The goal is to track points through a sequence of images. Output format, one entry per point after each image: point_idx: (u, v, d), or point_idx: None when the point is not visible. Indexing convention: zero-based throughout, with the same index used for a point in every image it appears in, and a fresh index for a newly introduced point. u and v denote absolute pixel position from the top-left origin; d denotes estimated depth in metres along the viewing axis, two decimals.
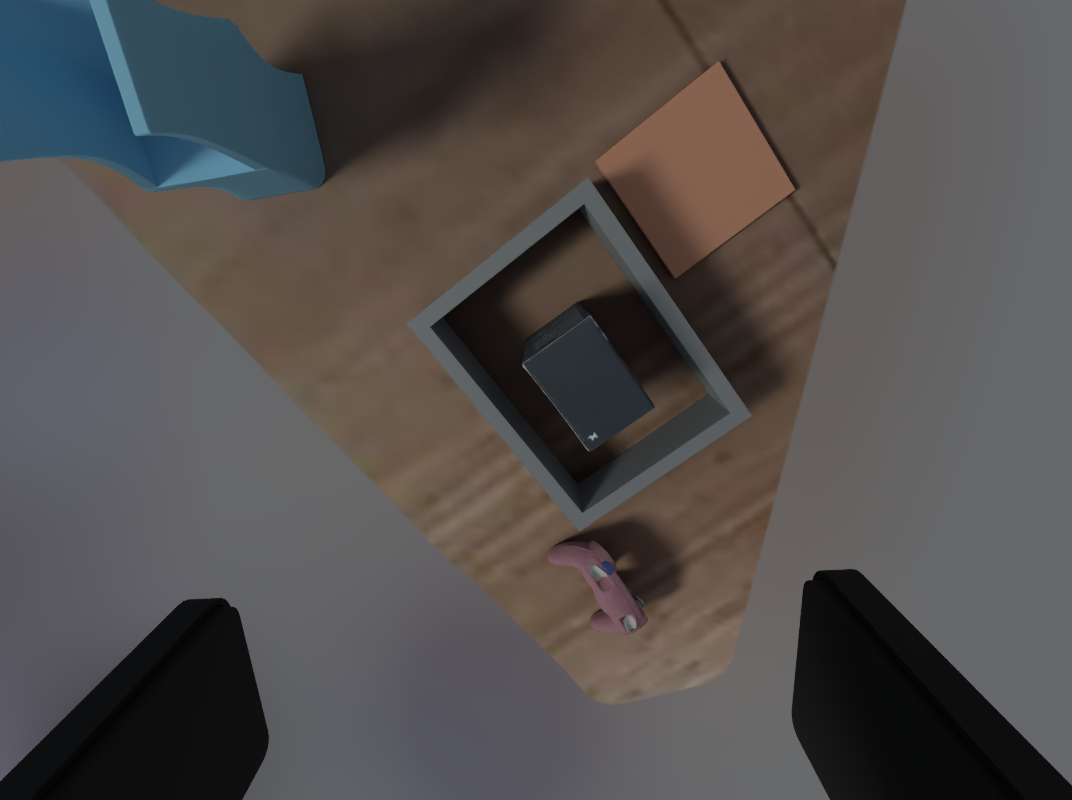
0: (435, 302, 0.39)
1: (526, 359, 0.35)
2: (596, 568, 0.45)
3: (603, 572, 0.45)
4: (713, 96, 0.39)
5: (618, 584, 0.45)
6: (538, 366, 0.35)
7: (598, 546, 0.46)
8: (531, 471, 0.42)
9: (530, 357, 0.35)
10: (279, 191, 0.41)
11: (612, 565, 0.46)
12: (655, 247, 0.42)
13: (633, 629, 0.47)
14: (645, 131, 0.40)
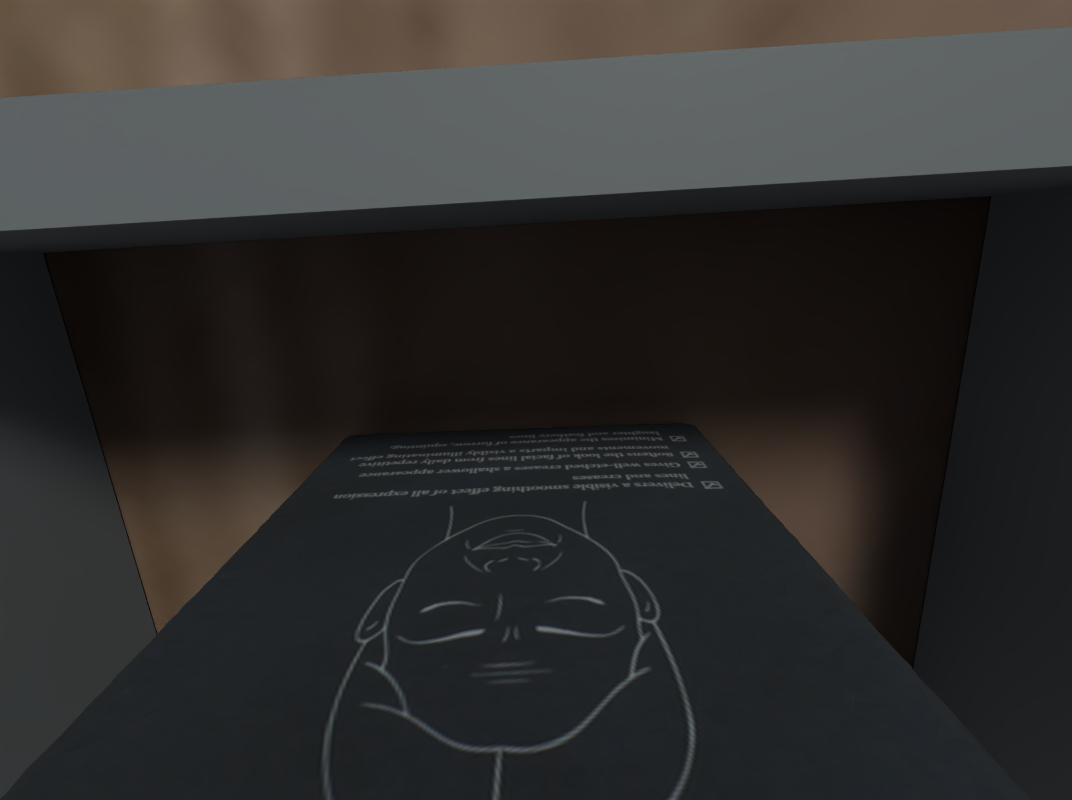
0: None
1: None
2: None
3: None
4: None
5: None
6: None
7: None
8: (43, 111, 0.05)
9: None
10: None
11: None
12: None
13: None
14: None
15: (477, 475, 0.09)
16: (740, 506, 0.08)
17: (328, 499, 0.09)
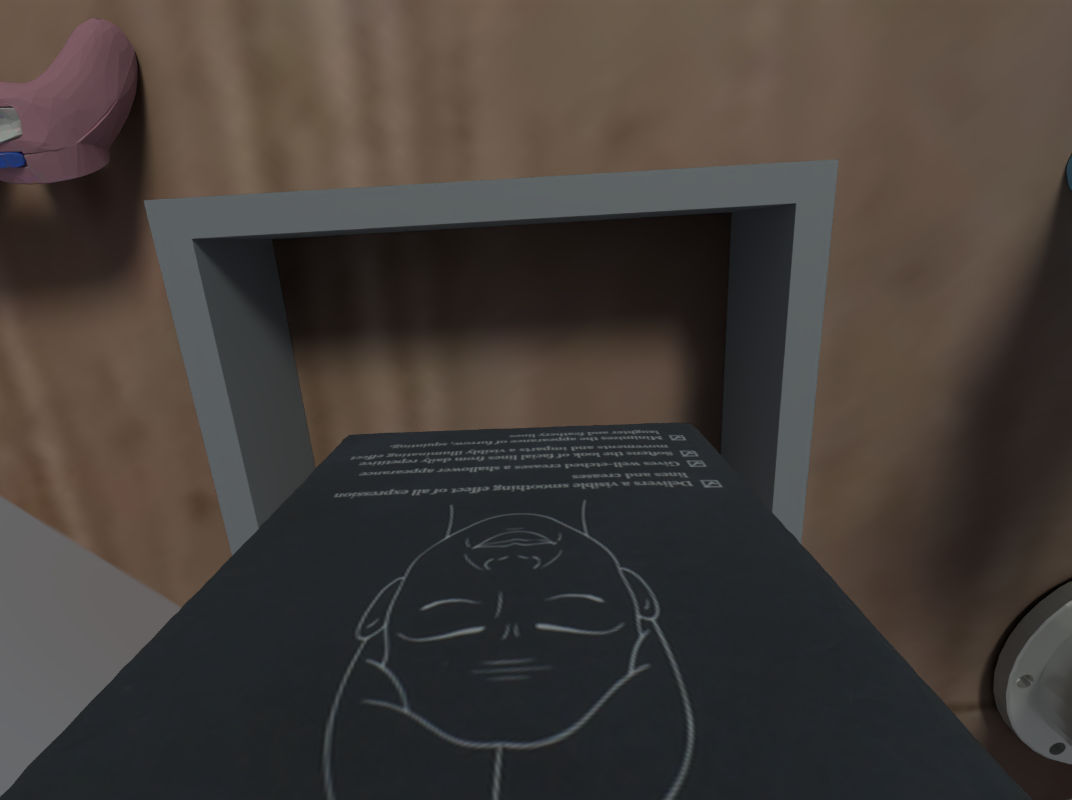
0: (826, 249, 0.17)
1: None
2: (9, 131, 0.16)
3: None
4: None
5: None
6: None
7: (81, 170, 0.18)
8: (358, 192, 0.16)
9: None
10: None
11: (6, 174, 0.17)
12: None
13: None
14: None
15: (476, 474, 0.09)
16: (740, 504, 0.08)
17: (328, 498, 0.09)
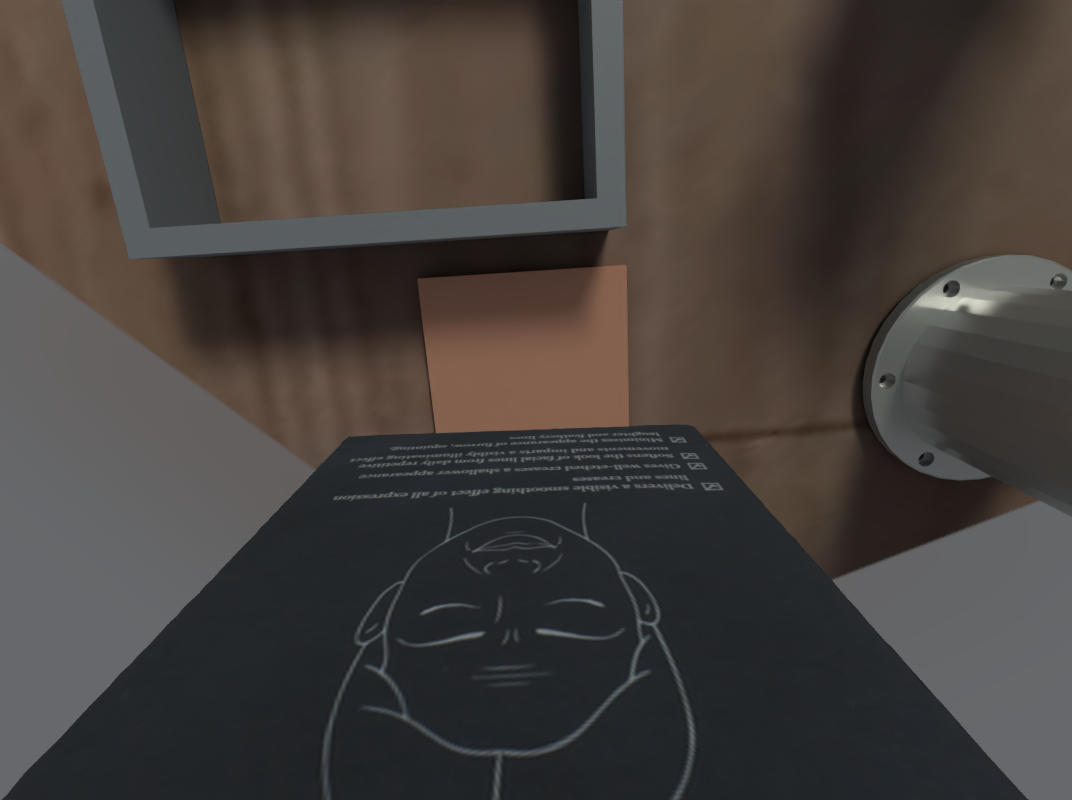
0: None
1: None
2: None
3: None
4: None
5: None
6: None
7: None
8: None
9: None
10: None
11: None
12: (473, 276, 0.28)
13: None
14: (616, 344, 0.29)
15: (476, 476, 0.09)
16: (741, 507, 0.08)
17: (328, 501, 0.09)
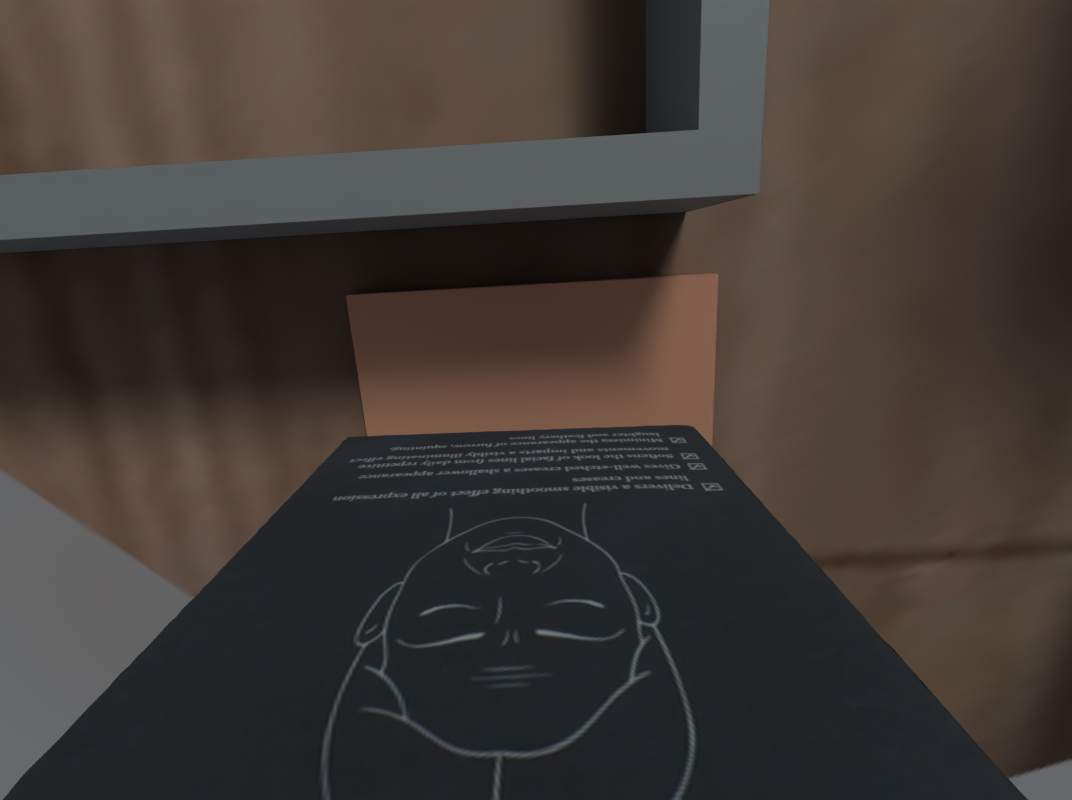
0: None
1: None
2: None
3: None
4: None
5: None
6: None
7: None
8: None
9: None
10: None
11: None
12: (445, 292, 0.16)
13: None
14: (693, 411, 0.17)
15: (476, 476, 0.09)
16: (740, 507, 0.08)
17: (328, 501, 0.09)
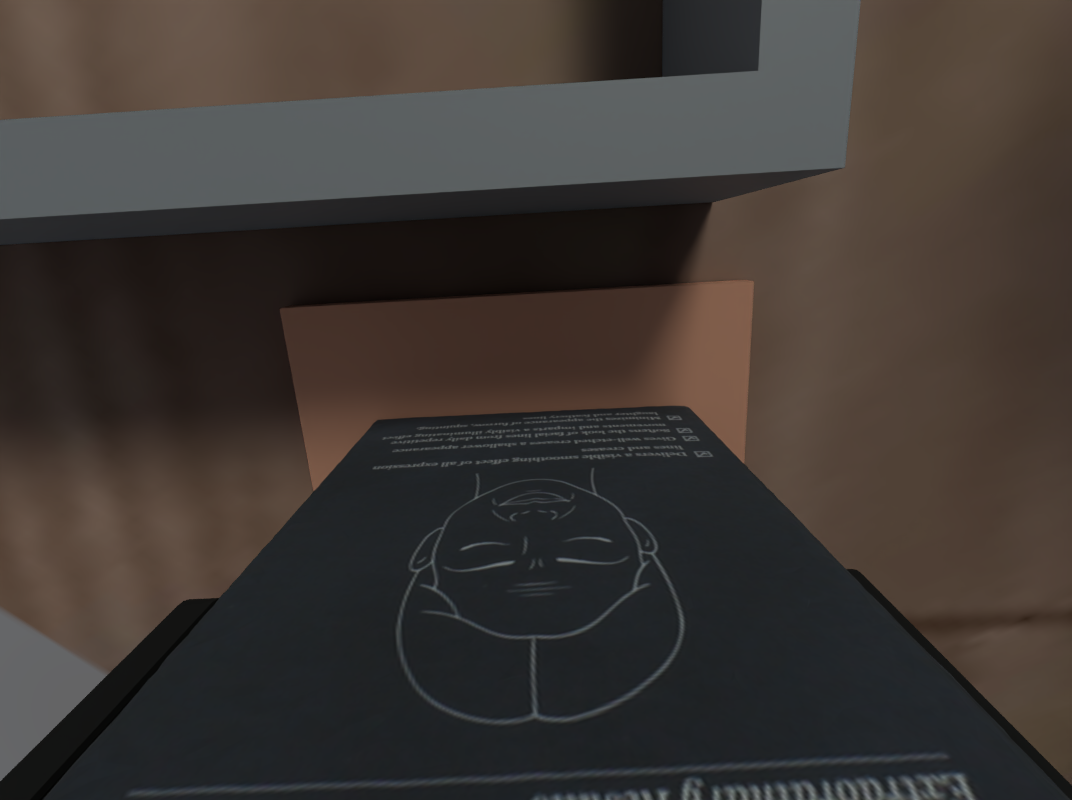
0: None
1: None
2: None
3: None
4: None
5: None
6: None
7: None
8: None
9: None
10: None
11: None
12: (406, 304, 0.12)
13: None
14: None
15: (496, 449, 0.10)
16: (727, 469, 0.09)
17: (368, 469, 0.10)
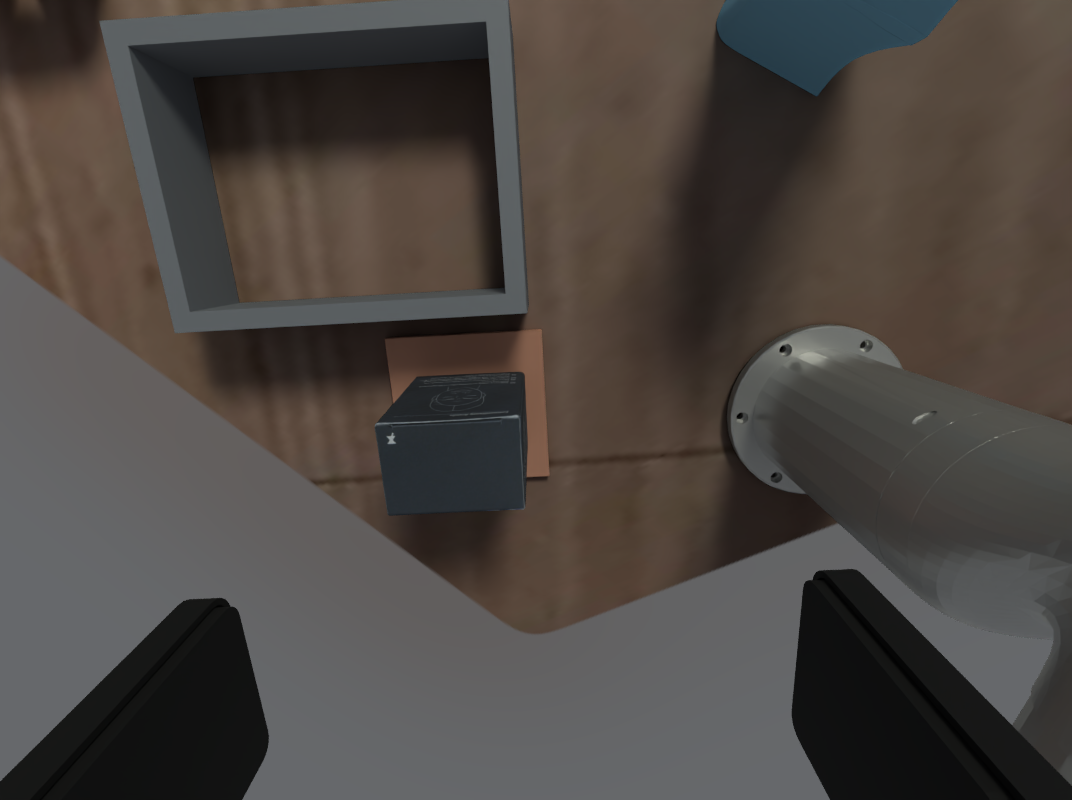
0: (509, 52, 0.28)
1: (521, 422, 0.28)
2: None
3: None
4: None
5: None
6: (506, 431, 0.28)
7: None
8: (224, 15, 0.28)
9: (520, 428, 0.28)
10: None
11: None
12: (427, 337, 0.37)
13: None
14: (536, 388, 0.38)
15: (455, 382, 0.35)
16: (515, 385, 0.34)
17: (417, 387, 0.35)
